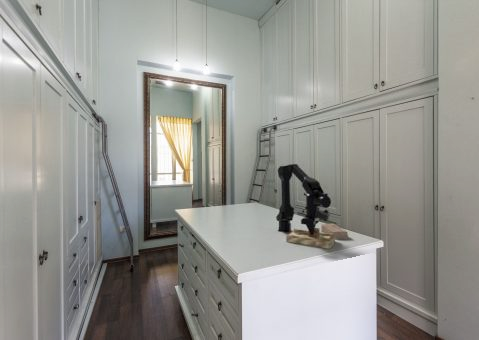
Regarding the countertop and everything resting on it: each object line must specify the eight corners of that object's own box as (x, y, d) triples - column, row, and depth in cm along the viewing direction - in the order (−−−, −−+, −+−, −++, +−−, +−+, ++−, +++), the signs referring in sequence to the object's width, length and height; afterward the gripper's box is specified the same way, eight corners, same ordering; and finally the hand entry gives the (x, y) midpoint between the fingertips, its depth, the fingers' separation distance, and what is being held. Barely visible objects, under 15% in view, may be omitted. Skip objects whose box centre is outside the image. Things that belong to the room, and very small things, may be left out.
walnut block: (308, 236, 122) (308, 229, 122) (310, 234, 126) (310, 227, 126) (317, 238, 120) (317, 230, 120) (319, 235, 124) (319, 228, 124)
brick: (348, 239, 127) (348, 230, 127) (333, 239, 126) (333, 231, 126) (333, 231, 143) (333, 223, 143) (320, 231, 142) (320, 223, 142)
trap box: (286, 241, 123) (286, 232, 123) (294, 235, 134) (294, 227, 134) (330, 248, 111) (330, 239, 111) (334, 241, 122) (334, 232, 122)
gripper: (324, 209, 108) (324, 242, 108) (331, 203, 124) (331, 233, 124) (300, 207, 113) (300, 238, 114) (310, 202, 129) (310, 230, 129)
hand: (311, 235), depth 120 cm, fingers closed
